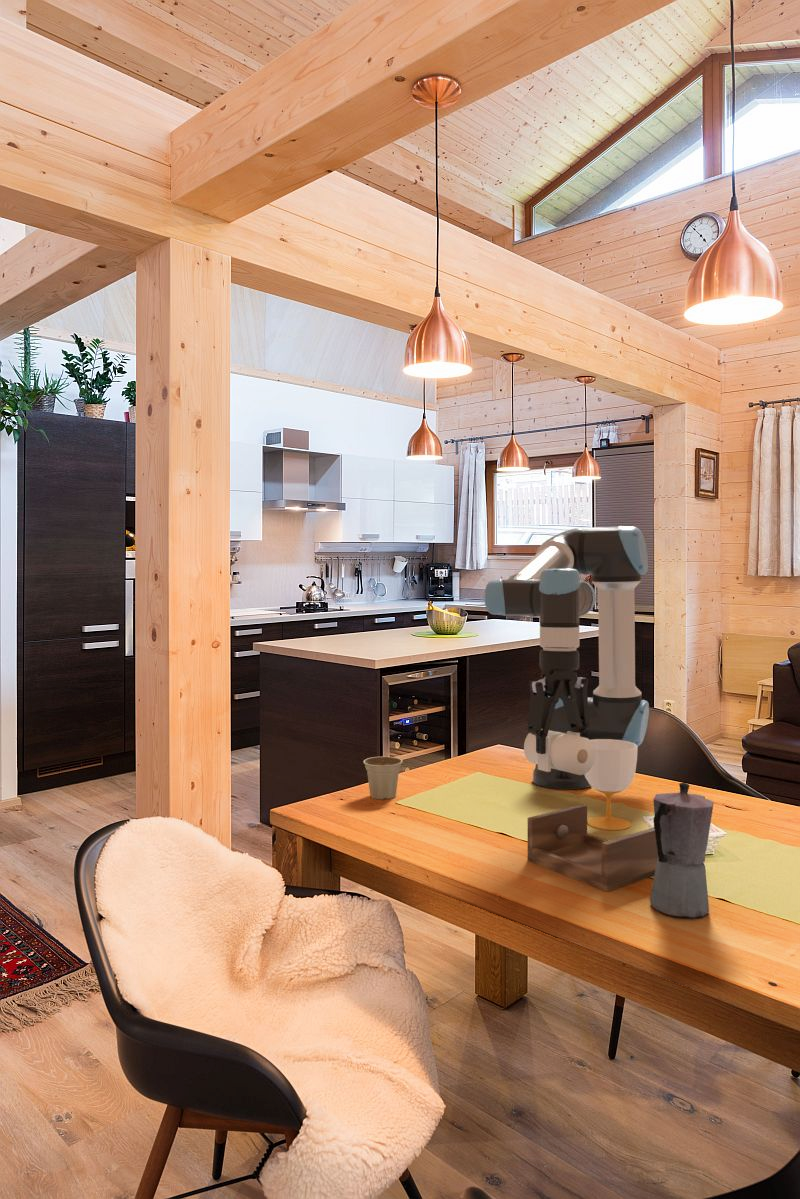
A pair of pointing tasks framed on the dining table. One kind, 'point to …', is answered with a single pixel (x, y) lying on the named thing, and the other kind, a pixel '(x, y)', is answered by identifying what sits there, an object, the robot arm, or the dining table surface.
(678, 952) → the dining table surface
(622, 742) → the cup
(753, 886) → the dining table surface
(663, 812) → the moka pot
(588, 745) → the roll
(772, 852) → the dining table surface
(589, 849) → the holder
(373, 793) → the flower pot
